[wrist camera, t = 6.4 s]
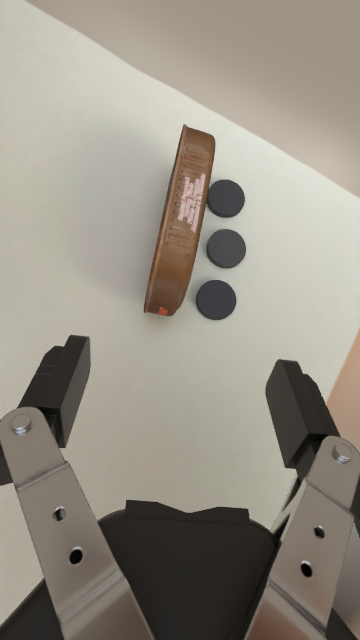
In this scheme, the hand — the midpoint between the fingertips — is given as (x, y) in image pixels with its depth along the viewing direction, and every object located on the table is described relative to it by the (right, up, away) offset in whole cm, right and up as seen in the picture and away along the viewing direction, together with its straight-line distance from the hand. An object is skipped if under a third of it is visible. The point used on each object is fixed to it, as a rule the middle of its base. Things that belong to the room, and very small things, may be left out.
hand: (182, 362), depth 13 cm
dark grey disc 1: (+4, +13, +17) cm, 22 cm away
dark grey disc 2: (+4, +8, +16) cm, 19 cm away
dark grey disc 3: (+3, +4, +15) cm, 16 cm away
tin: (-1, +9, +16) cm, 18 cm away
